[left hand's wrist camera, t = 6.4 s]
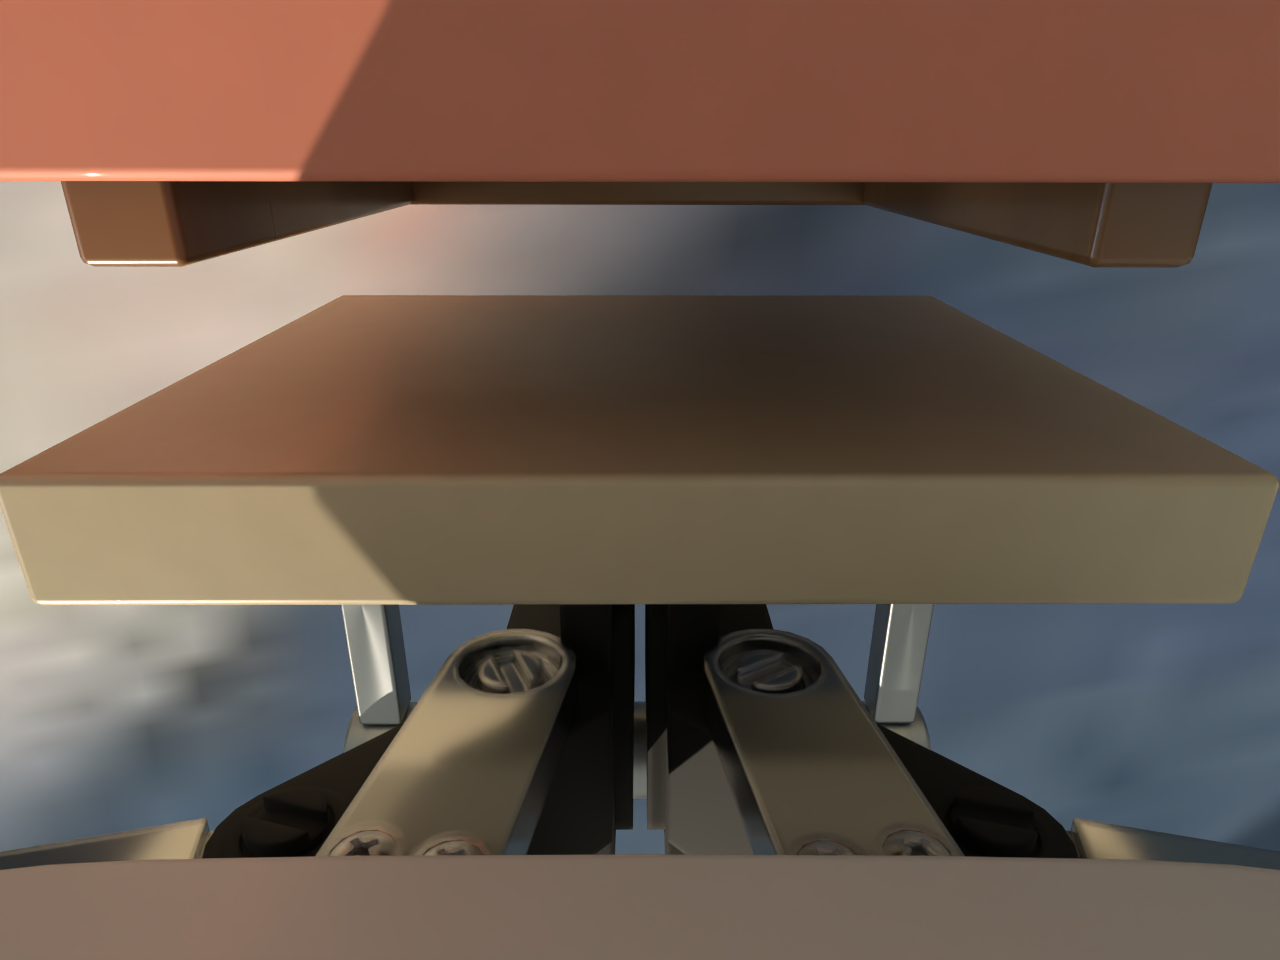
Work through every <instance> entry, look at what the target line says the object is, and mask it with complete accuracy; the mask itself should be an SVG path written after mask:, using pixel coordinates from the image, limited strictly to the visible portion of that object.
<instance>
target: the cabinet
mask: <svg viewBox="0 0 1280 960" xmlns="http://www.w3.org/2000/svg"><path fill="white" fill-rule="evenodd" d="M0 181H431V182H1062V183H1280V0H0Z"/></svg>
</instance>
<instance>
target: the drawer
mask: <svg viewBox="0 0 1280 960" xmlns="http://www.w3.org/2000/svg"><path fill="white" fill-rule="evenodd" d="M61 184H62V188H63V192H64V196H65V199H66V203H67V207H68V211H69V215H70V219H71V223H72V226H73V230H74V234H75V238H76V242H77V246H78V249H79V253H80V257H81V259H82V260H83V262H84V263H86V264H89V265H92V266H185V265H189V264H193V263H196V262H200V261H204V260H207V259H211V258H215V257H218V256H222V255H226V254H229V253H233V252H237V251H240V250H244V249H248V248H251V247H255V246H259V245H262V244H266V243H270V242H273V241H277V240H281V239H284V238H288V237H292V236H295V235H299V234H303V233H306V232H310V231H314V230H317V229H321V228H325V227H328V226H332V225H336V224H339V223H343V222H347V221H350V220H354V219H358V218H361V217H365V216H369V215H372V214H376V213H380V212H383V211H387V210H391V209H394V208H398V207H402V206H405V205H408V204H560V205H868V206H871V207H875V208H879V209H882V210H886V211H890V212H893V213H897V214H901V215H904V216H908V217H912V218H915V219H919V220H923V221H926V222H930V223H934V224H937V225H941V226H945V227H948V228H952V229H956V230H959V231H963V232H967V233H971V234H974V235H978V236H982V237H985V238H989V239H993V240H996V241H1000V242H1004V243H1007V244H1011V245H1015V246H1018V247H1022V248H1026V249H1029V250H1033V251H1037V252H1040V253H1044V254H1048V255H1051V256H1055V257H1059V258H1062V259H1066V260H1070V261H1073V262H1077V263H1081V264H1085V265H1088V266H1092V267H1179V266H1182V265H1185V264H1188V263H1190V261H1191V260H1192V258H1193V256H1194V253H1195V249H1196V245H1197V241H1198V237H1199V233H1200V230H1201V226H1202V222H1203V218H1204V214H1205V210H1206V206H1207V203H1208V199H1209V195H1210V191H1211V187H1212V183H1062V182H431V181H61ZM1278 488H1279V481H1278V478H1277V477H1276V475H1274V474H1272V473H1270V472H1268V471H1266V470H1264V469H1263V468H1261V467H1259V466H1257V465H1255V464H1253V463H1251V462H1249V461H1247V460H1245V459H1243V458H1241V457H1239V456H1238V455H1236V454H1234V453H1232V452H1230V451H1228V450H1226V449H1224V448H1222V447H1220V446H1218V445H1216V444H1215V443H1213V442H1211V441H1209V440H1207V439H1205V438H1203V437H1201V436H1199V435H1197V434H1195V433H1193V432H1191V431H1190V430H1188V429H1186V428H1184V427H1182V426H1180V425H1178V424H1176V423H1174V422H1172V421H1170V420H1168V419H1166V418H1165V417H1163V416H1161V415H1159V414H1157V413H1155V412H1153V411H1151V410H1149V409H1147V408H1145V407H1143V406H1141V405H1140V404H1138V403H1136V402H1134V401H1132V400H1130V399H1128V398H1126V397H1124V396H1122V395H1120V394H1118V393H1116V392H1115V391H1113V390H1111V389H1109V388H1107V387H1105V386H1103V385H1101V384H1099V383H1097V382H1095V381H1093V380H1092V379H1090V378H1088V377H1086V376H1084V375H1082V374H1080V373H1078V372H1076V371H1074V370H1072V369H1070V368H1068V367H1067V366H1065V365H1063V364H1061V363H1059V362H1057V361H1055V360H1053V359H1051V358H1049V357H1047V356H1045V355H1043V354H1042V353H1040V352H1038V351H1036V350H1034V349H1032V348H1030V347H1028V346H1026V345H1024V344H1022V343H1020V342H1018V341H1017V340H1015V339H1013V338H1011V337H1009V336H1007V335H1005V334H1003V333H1001V332H999V331H997V330H995V329H993V328H992V327H990V326H988V325H986V324H984V323H982V322H980V321H978V320H976V319H974V318H972V317H970V316H968V315H967V314H965V313H963V312H961V311H959V310H957V309H955V308H953V307H951V306H949V305H947V304H945V303H944V302H942V301H940V300H938V299H936V298H934V297H932V296H456V295H343V296H341V297H339V298H337V299H335V300H333V301H331V302H329V303H327V304H325V305H323V306H321V307H320V308H318V309H316V310H314V311H312V312H310V313H308V314H306V315H304V316H302V317H300V318H298V319H297V320H295V321H293V322H291V323H289V324H287V325H285V326H283V327H281V328H279V329H277V330H275V331H274V332H272V333H270V334H268V335H266V336H264V337H262V338H260V339H258V340H256V341H254V342H252V343H250V344H249V345H247V346H245V347H243V348H241V349H239V350H237V351H235V352H233V353H231V354H229V355H227V356H226V357H224V358H222V359H220V360H218V361H216V362H214V363H212V364H210V365H208V366H206V367H204V368H203V369H201V370H199V371H197V372H195V373H193V374H191V375H189V376H187V377H185V378H183V379H181V380H180V381H178V382H176V383H174V384H172V385H170V386H168V387H166V388H164V389H162V390H160V391H158V392H156V393H155V394H153V395H151V396H149V397H147V398H145V399H143V400H141V401H139V402H137V403H135V404H133V405H132V406H130V407H128V408H126V409H124V410H122V411H120V412H118V413H116V414H114V415H112V416H110V417H109V418H107V419H105V420H103V421H101V422H99V423H97V424H95V425H93V426H91V427H89V428H87V429H85V430H84V431H82V432H80V433H78V434H76V435H74V436H72V437H70V438H68V439H66V440H64V441H62V442H61V443H59V444H57V445H55V446H53V447H51V448H49V449H47V450H45V451H43V452H41V453H39V454H38V455H36V456H34V457H32V458H30V459H28V460H26V461H24V462H22V463H20V464H18V465H16V466H14V467H13V468H11V469H9V470H7V471H5V472H3V473H1V474H0V507H1V510H2V513H3V515H4V518H5V521H6V524H7V527H8V530H9V533H10V536H11V539H12V542H13V545H14V548H15V551H16V554H17V557H18V560H19V563H20V566H21V569H22V572H23V575H24V578H25V581H26V584H27V587H28V590H29V593H30V596H31V598H32V599H33V600H34V601H35V603H38V604H41V605H340V606H341V612H342V618H343V624H344V630H345V636H346V642H347V648H348V654H349V660H350V666H351V673H352V679H353V685H354V691H355V697H356V703H357V708H356V709H355V711H354V713H353V715H352V717H351V719H350V722H349V725H348V729H347V732H346V737H345V742H344V750H343V753H345V752H347V751H349V750H351V749H353V748H355V747H357V746H359V745H361V744H363V743H365V742H367V741H369V740H371V739H373V738H375V737H377V736H379V735H381V734H383V733H385V732H387V731H389V730H391V729H393V728H395V727H397V726H399V725H401V724H403V723H405V721H406V720H407V718H408V717H409V715H410V714H411V712H412V711H413V709H414V708H415V706H416V705H417V703H418V702H410V700H411V694H410V686H409V678H408V671H407V663H406V656H405V648H404V641H403V633H402V626H401V618H400V610H399V604H876V611H875V619H874V626H873V634H872V641H871V649H870V656H869V663H868V671H867V678H866V686H865V693H864V699H865V701H861V702H862V703H863V705H864V706H865V708H866V709H867V711H868V712H869V714H870V715H871V717H872V718H873V720H874V721H875V723H877V724H879V725H881V726H883V727H885V728H887V729H889V730H891V731H893V732H895V733H897V734H899V735H901V736H903V737H905V738H907V739H909V740H911V741H913V742H915V743H917V744H919V745H921V746H923V747H925V748H927V749H929V750H931V745H930V739H929V734H928V730H927V726H926V723H925V720H924V717H923V715H922V713H921V711H920V709H919V708H918V707H917V702H918V696H919V690H920V684H921V678H922V672H923V666H924V660H925V654H926V648H927V642H928V636H929V630H930V624H931V618H932V612H933V606H934V604H1232V603H1235V602H1238V600H1239V599H1240V598H1241V597H1242V595H1243V592H1244V589H1245V586H1246V583H1247V580H1248V577H1249V574H1250V571H1251V568H1252V565H1253V562H1254V559H1255V556H1256V553H1257V550H1258V547H1259V544H1260V541H1261V538H1262V536H1263V533H1264V530H1265V527H1266V524H1267V521H1268V518H1269V515H1270V512H1271V509H1272V506H1273V503H1274V500H1275V497H1276V494H1277V491H1278ZM633 798H647V767H646V702H634V767H633Z"/></svg>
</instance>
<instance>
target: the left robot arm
mask: <svg viewBox="0 0 1280 960" xmlns="http://www.w3.org/2000/svg"><path fill="white" fill-rule="evenodd" d="M634 676H635V604H514V606H513V610H512V613H511V617H510V620H509V623H508V627H507V629H506V630H500V631H494V632H490V633H487V634H484V635H481V636H478V637H475V638H472V639H471V640H469V641H467V642H466V643H464V644H462V645H461V646H459V647H458V648H457V649H456V650H455V651H454V652H453V653H452V654H451V655H450V656H449V657H448V658H447V660H446V661H445V663H444V664H443V666H442V667H441V669H440V670H439V672H438V673H437V675H436V676H435V678H434V679H433V681H432V682H431V684H430V685H429V687H428V688H427V690H426V691H425V693H424V694H423V696H422V697H421V699H420V700H419V702H418V703H417V705H416V706H415V708H414V709H413V711H412V712H411V714H410V715H409V717H408V718H407V720H406V721H405V723H403V724H401V725H399V726H397V727H395V728H393V729H391V730H389V731H387V732H385V733H383V734H381V735H379V736H377V737H375V738H373V739H371V740H369V741H367V742H365V743H363V744H361V745H359V746H357V747H355V748H353V749H351V750H349V751H347V752H345V753H343V754H341V755H339V756H337V757H334V758H332V759H330V760H328V761H326V762H324V763H322V764H320V765H318V766H316V767H314V768H312V769H310V770H308V771H306V772H304V773H302V774H300V775H298V776H296V777H294V778H292V779H290V780H288V781H286V782H284V783H282V784H280V785H278V786H276V787H274V788H272V789H270V790H268V791H266V792H264V793H262V794H260V795H258V796H257V797H255V798H253V799H252V800H250V801H248V802H247V803H245V804H244V805H242V806H240V807H239V808H237V809H236V810H234V811H233V812H232V813H231V814H230V815H229V816H228V817H227V818H226V819H225V820H224V821H223V822H221V823H220V824H219V825H218V826H217V828H216V829H215V831H209V827H208V823H207V818H203V819H197V820H191V821H185V822H179V823H173V824H167V825H161V826H155V827H149V828H143V829H137V830H131V831H124V832H118V833H112V834H106V835H100V836H94V837H88V838H82V839H76V840H70V841H64V842H58V843H52V844H45V845H39V846H33V847H27V848H21V849H15V850H9V851H3V852H0V960H1280V852H1277V851H1271V850H1265V849H1259V848H1253V847H1247V846H1241V845H1235V844H1228V843H1222V842H1216V841H1210V840H1204V839H1198V838H1192V837H1186V836H1180V835H1174V834H1168V833H1162V832H1156V831H1149V830H1143V829H1137V828H1131V827H1125V826H1119V825H1113V824H1107V823H1101V822H1095V821H1089V820H1083V819H1077V818H1073V822H1072V827H1071V831H1065V829H1064V828H1063V826H1062V825H1061V824H1060V823H1059V822H1057V821H1056V820H1055V819H1054V818H1053V817H1052V816H1051V815H1050V814H1049V813H1048V812H1047V811H1046V810H1044V809H1043V808H1041V807H1040V806H1038V805H1036V804H1035V803H1033V802H1032V801H1030V800H1028V799H1027V798H1025V797H1023V796H1022V795H1020V794H1018V793H1016V792H1014V791H1012V790H1010V789H1008V788H1006V787H1004V786H1002V785H1000V784H998V783H996V782H994V781H992V780H990V779H988V778H986V777H984V776H982V775H980V774H978V773H976V772H974V771H972V770H970V769H968V768H966V767H964V766H962V765H960V764H958V763H956V762H954V761H952V760H950V759H948V758H946V757H943V756H941V755H939V754H937V753H935V752H933V751H931V750H929V749H927V748H925V747H923V746H921V745H919V744H917V743H915V742H913V741H911V740H909V739H907V738H905V737H903V736H901V735H899V734H897V733H895V732H893V731H891V730H889V729H887V728H885V727H883V726H881V725H879V724H877V723H875V721H874V720H873V718H872V717H871V715H870V714H869V712H868V711H867V709H866V708H865V706H864V705H863V703H862V702H861V700H860V699H859V697H858V696H857V694H856V693H855V691H854V690H853V688H852V687H851V685H850V684H849V682H848V681H847V679H846V678H845V676H844V675H843V673H842V672H841V670H840V669H839V667H838V666H837V664H836V663H835V661H834V660H833V658H832V657H831V656H830V655H829V654H828V653H827V652H826V651H825V650H824V649H823V648H822V647H821V646H819V645H818V644H816V643H814V642H813V641H811V640H809V639H808V638H805V637H802V636H799V635H796V634H793V633H790V632H786V631H780V630H774V629H773V627H772V623H771V620H770V617H769V613H768V610H767V606H766V604H645V677H646V767H647V829H664V837H665V855H650V854H630V855H615V836H616V829H633V767H634Z"/></svg>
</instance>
